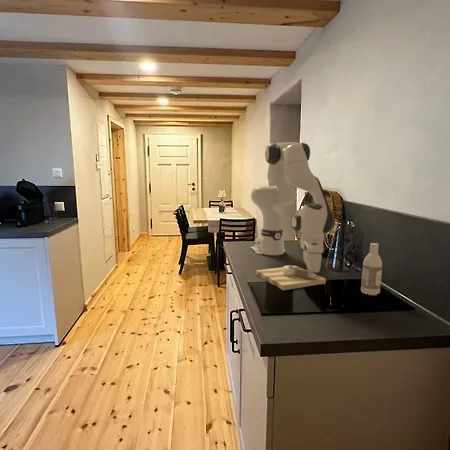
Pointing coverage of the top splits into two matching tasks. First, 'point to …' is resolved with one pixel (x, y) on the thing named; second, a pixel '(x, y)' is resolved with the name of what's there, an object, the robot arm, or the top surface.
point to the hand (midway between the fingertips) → (309, 276)
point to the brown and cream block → (294, 271)
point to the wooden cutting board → (288, 279)
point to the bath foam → (372, 272)
